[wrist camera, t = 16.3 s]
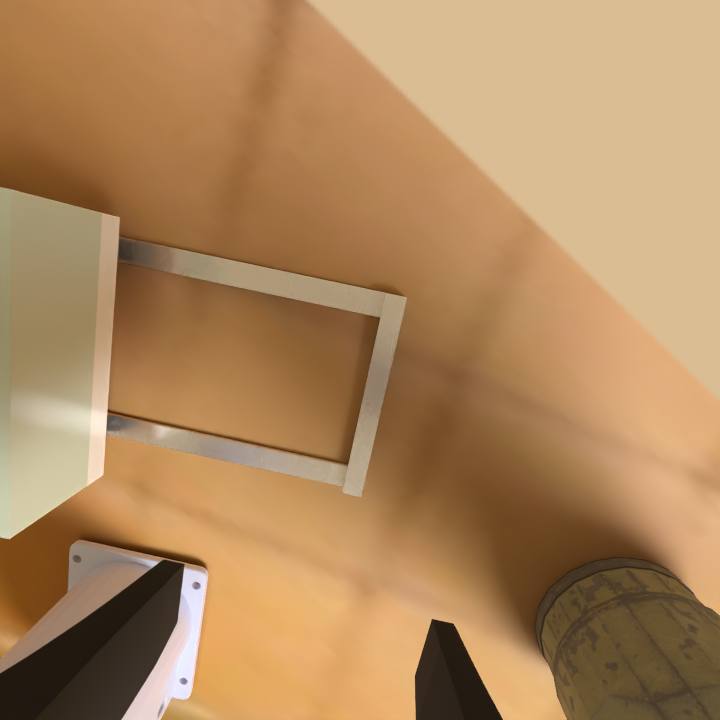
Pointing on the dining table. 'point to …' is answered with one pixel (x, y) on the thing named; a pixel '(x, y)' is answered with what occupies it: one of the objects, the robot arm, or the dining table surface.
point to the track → (289, 287)
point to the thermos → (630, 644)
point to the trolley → (52, 351)
